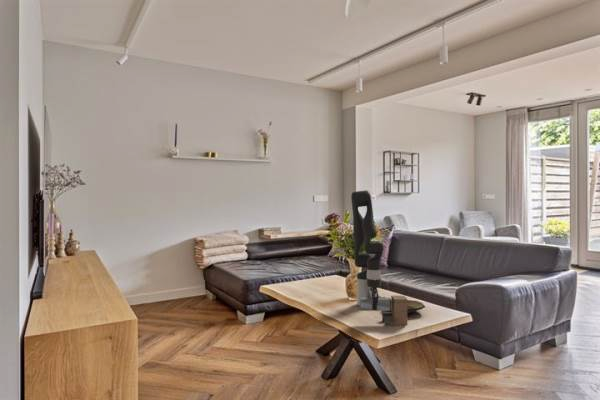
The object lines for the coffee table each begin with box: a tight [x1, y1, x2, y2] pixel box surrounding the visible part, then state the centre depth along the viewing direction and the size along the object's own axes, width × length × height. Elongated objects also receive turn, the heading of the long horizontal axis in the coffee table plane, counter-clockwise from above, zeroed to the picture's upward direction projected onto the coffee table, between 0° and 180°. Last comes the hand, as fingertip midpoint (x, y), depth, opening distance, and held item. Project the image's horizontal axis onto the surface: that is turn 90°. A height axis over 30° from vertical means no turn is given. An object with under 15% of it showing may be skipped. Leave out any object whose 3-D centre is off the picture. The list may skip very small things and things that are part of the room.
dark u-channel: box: [381, 295, 408, 326], centre depth 215 cm, size 8×12×14 cm, turn 89°
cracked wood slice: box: [378, 294, 426, 314], centre depth 237 cm, size 22×30×8 cm
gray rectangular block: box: [360, 297, 391, 312], centre depth 215 cm, size 4×16×6 cm, turn 89°
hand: (374, 308), depth 215 cm, fingers closed on gray rectangular block, 3 cm apart
